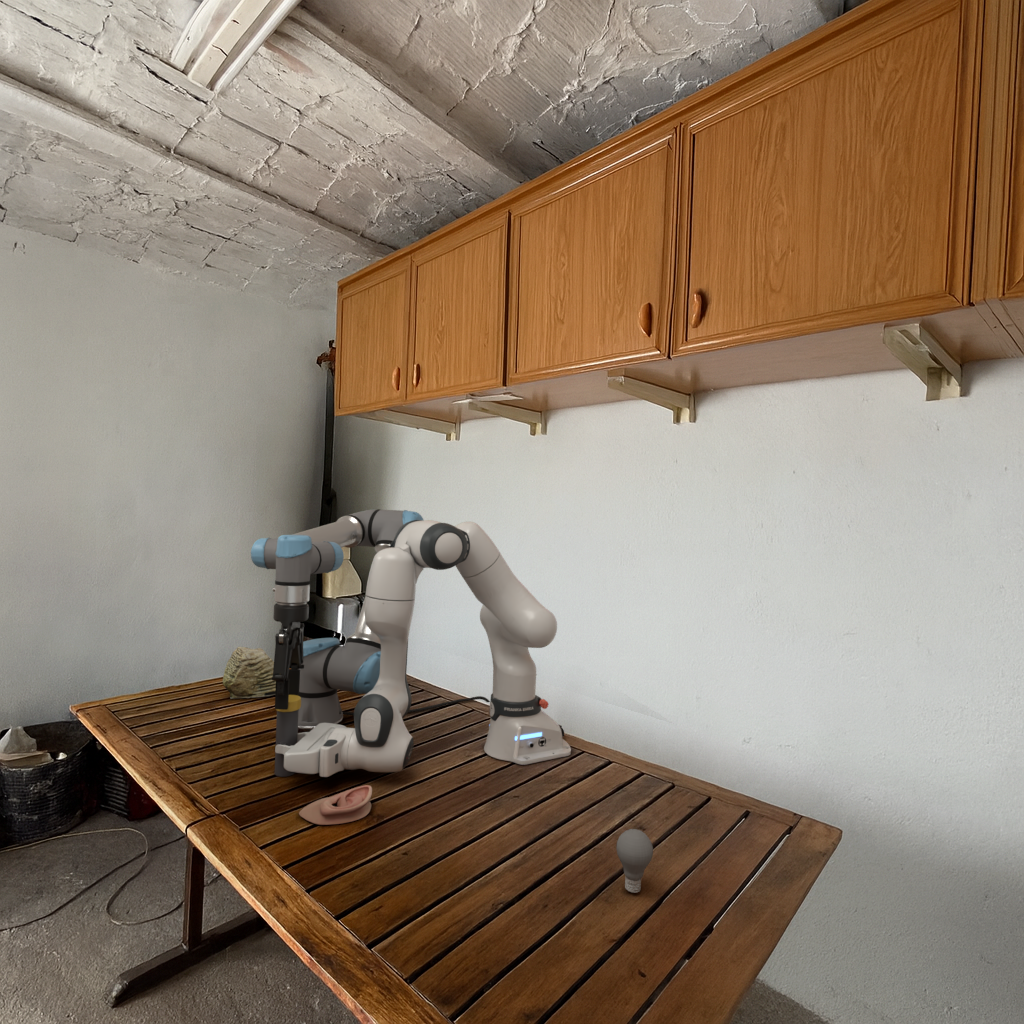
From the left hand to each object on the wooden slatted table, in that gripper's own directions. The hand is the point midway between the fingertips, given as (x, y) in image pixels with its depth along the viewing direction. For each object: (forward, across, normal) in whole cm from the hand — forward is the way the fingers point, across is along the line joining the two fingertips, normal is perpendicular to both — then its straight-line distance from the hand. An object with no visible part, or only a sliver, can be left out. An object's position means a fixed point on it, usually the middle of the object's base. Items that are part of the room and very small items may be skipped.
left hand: (287, 702), depth 144 cm
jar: (+16, 0, 0) cm, 16 cm away
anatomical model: (+16, +18, +16) cm, 29 cm away
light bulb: (+16, +42, +70) cm, 83 cm away
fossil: (+16, -55, -26) cm, 63 cm away
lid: (-1, 0, 0) cm, 1 cm away
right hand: (+9, 0, -1) cm, 9 cm away
